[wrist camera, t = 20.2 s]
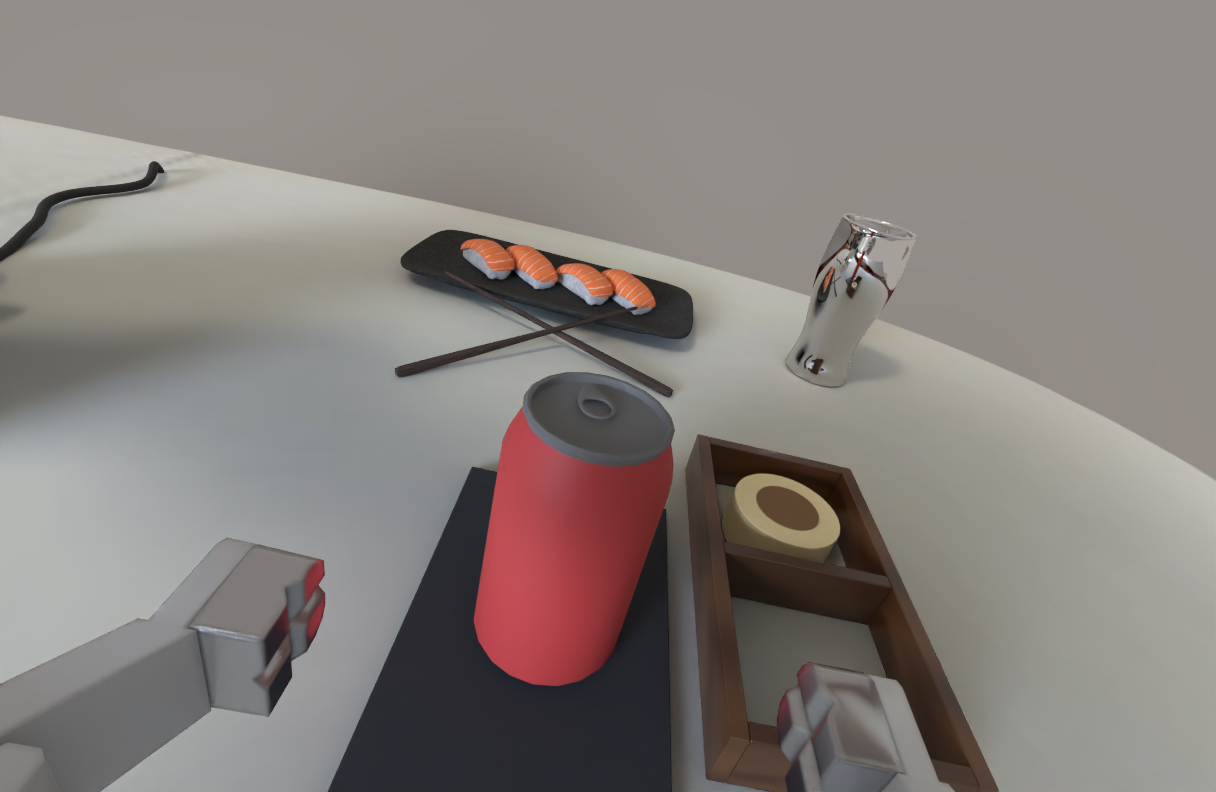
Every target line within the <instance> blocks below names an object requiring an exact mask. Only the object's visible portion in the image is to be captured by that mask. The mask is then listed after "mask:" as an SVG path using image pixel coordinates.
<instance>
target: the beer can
mask: <svg viewBox="0 0 1216 792" xmlns="http://www.w3.org/2000/svg"><path fill="white" fill-rule="evenodd" d="M674 432H675V429H674V426H673V422H672V418H671V416H670V415H669V414H668V412H667V411H666V410H665V409H664V407H663V406H662V405H661V403H660V402H659V401H657V400H656V399H655V398H653V397H652V396H651V395H650V394H648V393H647V392H646V391H644V390H642V389H640V388H638V387H636V386H634V385H632V384H630V383H628V382H625V381H622V380H619V379H616V378H613V377H610V376H606V375H600V374H593V373H587V372H566V373H561V374H556V375H551V376H548V377H546V378H544V379H542V380H540V381H538V382H536V383H534V384H533V385H532V386H531V387H530V388H529V390H528V391H527V392H526V393H525V395H524V402H523V407H522V408H521V409H520V411H519V412H518V413H517V415H516V416H515V418H514V419H513V421H512V422H511V424H510V425H509V427H508V429H507V431H506V434H505V436H504V438H503V441H502V447H501V454H500V460H499V466H498V472H497V478H496V484H495V491H494V497H493V503H492V509H491V515H490V521H489V528H488V534H487V540H486V546H485V552H484V558H483V565H482V571H481V577H480V583H479V589H478V595H477V601H476V608H475V615H474V624H475V629H476V633H477V637H478V641H479V643H480V644H481V646H482V647H483V649H484V650H485V652H486V653H487V655H488V656H489V658H490V659H491V661H492V662H493V663H495V664H496V665H497V666H498V667H500V668H501V669H502V670H504V671H505V672H506V673H507V674H509V675H510V676H512V677H515V678H518V679H520V680H523V681H525V682H528V683H531V684H534V685H547V686H560V685H565V684H569V683H573V682H578V681H581V680H582V679H584V678H586V677H587V676H589V675H590V674H592V673H594V672H595V671H597V670H599V669H600V668H601V667H602V666H603V665H604V663H605V662H606V661H607V659H608V658H609V657H610V656H611V654H612V653H613V651H614V648H615V645H616V642H617V640H618V637H619V634H620V631H621V628H622V625H623V623H624V620H625V617H626V614H627V611H628V608H629V606H630V603H631V600H632V597H633V594H634V591H635V588H636V586H637V583H638V580H639V577H640V574H641V571H642V569H643V566H644V563H645V560H646V557H647V554H648V551H649V549H650V546H651V543H652V540H653V537H654V534H655V532H656V529H657V526H658V523H659V520H660V517H661V514H662V512H663V509H664V506H665V503H666V500H667V497H668V494H669V490H670V487H671V483H672V477H673V455H672V447H671V442H672V438H673V435H674Z"/></svg>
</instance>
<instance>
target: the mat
mask: <svg viewBox="0 0 1216 792" xmlns="http://www.w3.org/2000/svg"><path fill="white" fill-rule="evenodd" d="M496 478H497V472H495V471H490V470H486V469H481V468H477V467H472V468H471V471H470V473H469V475H468V477H467V480H466V482H465V484H464V486H463V489H462V491H461V493H460V495H459V498H458V500H457V502H456V504H455V507H454V509H453V511H452V513H451V516H450V518H449V520H448V522H447V525H446V527H445V529H444V531H443V534H442V536H441V538H440V540H439V543H438V545H437V547H436V549H435V552H434V554H433V556H432V558H431V561H430V563H429V565H428V567H427V570H426V572H425V574H424V576H423V579H422V581H421V583H420V585H419V588H418V590H417V592H416V594H415V597H414V599H413V601H412V603H411V606H410V608H409V610H408V612H407V615H406V617H405V619H404V621H403V624H402V626H401V628H400V630H399V633H398V635H397V637H396V639H395V642H394V644H393V646H392V648H391V651H390V653H389V655H388V657H387V660H386V662H385V664H384V666H383V669H382V671H381V673H380V675H379V678H378V680H377V682H376V684H375V687H374V689H373V691H372V693H371V696H370V698H369V700H368V702H367V705H366V707H365V709H364V711H363V714H362V716H361V718H360V720H359V723H358V725H357V727H356V729H355V732H354V734H353V736H352V738H351V741H350V743H349V745H348V747H347V750H346V752H345V754H344V756H343V759H342V761H341V763H340V765H339V768H338V770H337V772H336V774H335V777H334V779H333V781H332V783H331V786H330V788H329V790H328V792H672V780H671V730H670V680H669V630H668V580H667V529H666V509H663V512H662V514H661V517H660V520H659V523H658V526H657V529H656V532H655V534H654V537H653V540H652V543H651V546H650V549H649V551H648V554H647V557H646V560H645V563H644V566H643V569H642V571H641V574H640V577H639V580H638V583H637V586H636V588H635V591H634V594H633V597H632V600H631V603H630V606H629V608H628V611H627V614H626V617H625V620H624V623H623V625H622V628H621V631H620V634H619V637H618V640H617V642H616V645H615V648H614V651H613V653H612V654H611V656H610V657H609V658H608V659H607V661H606V662H605V663H604V665H603V666H602V667H601V668H600V669H599V670H597V671H595V672H594V673H592V674H590V675H589V676H587V677H586V678H584V679H582V680H581V681H578V682H573V683H569V684H565V685H560V686H547V685H534V684H531V683H528V682H525V681H523V680H520V679H518V678H515V677H512V676H510V675H509V674H507V673H506V672H505V671H504V670H502V669H501V668H500V667H498V666H497V665H496V664H495V663H493V662H492V661H491V659H490V658H489V656H488V655H487V653H486V652H485V650H484V649H483V647H482V646H481V644H480V643H479V641H478V637H477V633H476V629H475V624H474V615H475V608H476V601H477V595H478V589H479V583H480V577H481V571H482V565H483V558H484V552H485V546H486V540H487V534H488V528H489V521H490V515H491V509H492V503H493V497H494V491H495V484H496Z"/></svg>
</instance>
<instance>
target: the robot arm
mask: <svg viewBox="0 0 1216 792" xmlns="http://www.w3.org/2000/svg"><path fill="white" fill-rule="evenodd" d="M157 172H158V173H164V170H163V168H162V167H161V165H160V164H159V163H157V162H155V161H154V162H151V163H150V164H149V169H148V173H147V175H146V177H145V178H144V179H142V180H139V181H136V182H131V183H125V184H118V185H107V186H96V187H86V188H77V189H71V190H66V191H62V192H58V193H55V194H53V195H50V196H48V197H46V198H45V199H44V200H42V201H41V202H40V203H39V205H38V206H37V209H36V211H35V214H34V216H33V218H32V219H31V220H30V221H29V222H28V223H27V224H26V225H25V226H24V227H23V228H21V229H20V230H19V231H18V232H17V233H16V234H15V235H14V236H13V237H12V238H11V239H10V240H9V241H8V242H7V243H6V244H4V245H3V246H2V247H1V248H0V261H1V260H3V259H4V258H6V257H8V256H9V255H11V254H12V253H14V252H15V251H16V250H17V249H19V248H20V247H21V246H22V245H23V244H24V243H25V242H26V241H27V240H28V239H29V238H30V237H31V235H32V234H34V233H35V232H36V231H37V230H38V229H39V228H40V227H41V226H42V225H43V224H44V222H45V220H46V218H47V215H48V212H49V210H50V208H51V207H52V206H54V205H55V204H57V203H60V202H62V201H65V200H68V199H73V198H77V197H83V196H91V195H100V194H111V193H120V192H128V191H134V190H138V189H142V188H145V187H147V186H149V185H150V184H151V183H152V182H153V181H154V180H155V178H156V175H157ZM324 575H325V571H324V560H321V559H317V558H313V557H309V556H305V555H301V554H296V553H292V552H288V551H284V550H280V549H276V548H271V547H267V546H263V545H259V544H254V543H250V542H245V541H241V540H236V539H232V538H226V539H224V540H222V541H221V542H219V543H217V544H216V545H215V546H214V547H213V548H212V549H211V550H210V551H209V553H208V554H207V555H206V556H205V557H204V558H203V559H202V560H201V561H200V563H199V564H198V565H197V566H196V567H195V568H194V569H193V570H192V572H191V573H190V574H189V575H188V576H187V577H186V578H185V579H184V581H183V582H182V583H181V584H180V585H179V586H178V587H177V588H176V590H175V591H174V592H173V593H172V594H171V595H170V596H169V597H168V598H167V600H166V601H165V602H164V603H163V604H162V605H161V606H160V607H159V609H158V610H157V611H156V612H155V613H154V614H153V615H152V616H151V618H150V619H149V620H145V619H139V618H138V619H136V620H134V621H131V622H129V623H127V624H125V625H123V626H121V627H119V628H117V629H115V630H113V631H110V632H108V633H106V634H104V635H102V636H100V637H98V638H96V639H94V640H92V641H90V642H87V643H85V644H83V645H81V646H79V647H77V648H75V649H73V650H71V651H69V652H66V653H64V654H62V655H60V656H58V657H56V658H54V659H52V660H50V661H48V662H46V663H43V664H41V665H39V666H37V667H35V668H33V669H31V670H29V671H27V672H25V673H22V674H20V675H18V676H16V677H14V678H12V679H10V680H8V681H6V682H4V683H2V684H0V792H100V791H102V790H103V789H104V788H106V787H107V786H109V785H110V784H111V783H113V782H114V781H115V780H117V779H118V778H120V777H121V776H122V775H124V774H125V773H126V772H128V771H129V770H131V769H132V768H133V767H135V766H136V765H137V764H139V763H140V762H142V761H143V760H144V759H146V758H147V757H148V756H150V755H151V754H153V753H154V752H155V751H157V750H158V749H159V748H161V747H162V746H163V745H165V744H166V743H168V742H169V741H170V740H172V739H173V738H174V737H176V736H177V735H179V734H180V733H181V732H183V731H184V730H185V729H187V728H188V727H190V726H191V725H192V724H194V723H195V722H196V721H198V720H199V719H201V718H202V717H203V716H205V715H206V714H207V713H209V712H210V711H211V707H213V708H219V709H225V710H231V711H237V712H243V713H249V714H255V715H261V716H267V717H269V715H270V714H271V712H272V710H273V709H274V707H275V705H276V703H277V702H278V700H279V698H280V697H281V695H282V693H283V692H284V690H285V688H286V686H287V685H288V683H289V681H290V680H291V678H292V667H291V661H292V660H294V659H295V658H297V657H299V656H300V655H302V654H304V653H305V652H307V650H308V648H309V647H310V645H311V643H312V641H313V639H314V638H315V636H316V633H317V631H318V628H319V626H320V623H321V620H322V618H323V613H324V607H325V593H324V591H323V590H322V589H321V588H320V587H319V583H320V581H321V580H322V578H323V577H324ZM797 677H798V682H799V685H797V686H795V687H793V688H791V689H788V690H787V691H786V693H785V695H784V696H783V698H782V700H781V702H780V706H779V711H778V717H777V733H778V740H779V746H780V749H781V750H782V752H783V753H784V755H785V756H786V757H787V759H788V760H789V761H790V763H791V766H790V768H789V769H788V771H787V773H786V775H785V780H786V786H787V791H788V792H955V791H954V790H953V789H952V788H951V786H950V785H949V784H947V783H943V782H939V780H938V777H937V775H936V772H935V770H934V767H933V764H932V762H931V759H930V757H929V754H928V752H927V749H926V747H925V744H924V741H923V739H922V736H921V734H920V731H919V729H918V726H917V724H916V721H915V718H914V716H913V713H912V711H911V708H910V706H909V703H908V700H907V698H906V695H905V693H904V690H903V688H902V686H901V685H900V684H899V683H898V682H897V680H893V679H888V678H883V677H879V676H874V675H869V674H864V673H863V672H858V671H853V670H848V669H843V668H837V667H832V666H827V665H822V664H817V663H812V662H808V663H806V664H804V665H803V666H802V667H801V669H800V670H799V672H798V673H797Z"/></svg>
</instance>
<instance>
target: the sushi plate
mask: <svg viewBox="0 0 1216 792" xmlns="http://www.w3.org/2000/svg"><path fill="white" fill-rule="evenodd" d="M401 265H402V267H404V268H405V269H407V270H409V271H411V272H414V273H417V274H420V275H423V276H426V277H430V278H433V279H437V280H440V281H443V282H445V283H448V284H451V285H454V286H457V287H460V288H464V289H468V290H471V291H475V292H479V293H481V294H482V295H484V296H486V297H488V298H490V299H492V300H493V301H495V302H497V303H499V304H501V305H503V306H504V307H506V308H508V309H510V310H512V311H514V312H515V313H517V314H519V315H521V316H523V317H525V318H526V319H528V320H530V321H532V322H534V323H535V324H537V325H539V326H541V327H543V328H545V329H546V330H542V331H538V332H534V333H530V334H526V335H522V336H518V337H514V338H509V339H505V340H501V341H497V342H493V343H489V344H485V345H481V346H477V347H473V348H469V349H465V350H461V351H457V352H453V353H449V354H445V355H441V356H437V357H433V358H429V359H425V360H421V361H418V362H414V363H410V364H406V365H402V366H399V367H397V368H395V374H396V375H397V376H398V377H402V376H406V375H410V374H414V373H417V372H421V371H424V370H428V369H431V368H435V367H438V366H442V365H445V364H449V363H452V362H456V361H459V360H463V359H466V358H470V357H473V356H477V355H480V354H483V353H487V352H490V351H494V350H497V349H500V348H504V347H507V346H510V345H514V344H517V343H520V342H524V341H527V340H531V339H534V338H537V337H541V336H544V335H548V334H551V333H553V334H555V335H557V336H559V337H561V338H562V339H564V340H566V341H568V342H569V343H571V344H573V345H575V346H577V347H578V348H580V349H582V350H584V351H585V352H587V353H589V354H591V355H593V356H594V357H596V358H598V359H600V360H601V361H603V362H605V363H607V364H609V365H610V366H612V367H614V368H616V369H618V370H619V371H621V372H623V373H625V374H627V375H628V376H630V377H632V378H634V379H636V380H638V381H639V382H641V383H643V384H645V385H647V386H649V387H650V388H652V389H654V390H656V391H658V392H660V393H661V394H663V395H665V396H668V397H670V396H671V395H672V392H673V390H672V389H671V388H670V387H668V386H666V385H664V384H662V383H660V382H658V381H657V380H655V379H653V378H651V377H649V376H647V375H645V374H643V373H641V372H639V371H637V370H636V369H634V368H632V367H630V366H628V365H626V364H624V363H622V362H620V361H618V360H616V359H614V358H612V357H611V356H609V355H607V354H605V353H603V352H601V351H599V350H597V349H595V348H593V347H591V346H589V345H587V344H585V343H583V342H581V341H579V340H578V339H576V338H574V337H572V336H570V335H568V334H566V333H564V332H562V330H566V329H569V328H573V327H576V326H580V325H583V324H587V323H590V322H595V323H599V324H603V325H607V326H611V327H615V328H619V329H623V330H627V331H631V332H636V333H642V334H651V335H655V336H660V337H665V338H673V339H682V338H685V337H686V336H688V335H689V333H690V332H691V328H692V323H693V302H692V298H691V296H690V294H689V293H688V292H687V291H685V290H683V289H681V288H679V287H676V286H673V285H670V284H667V283H664V282H660V281H657V280H653V279H649V278H645V277H642V276H638V275H634V274H630V273H628V272H625V271H622V270H617V269H611V268H607V267H603V266H599V265H595V264H591V263H587V262H583V261H580V260H576V259H572V258H568V257H564V256H560V255H556V254H552V253H549V252H545V251H541V250H537V249H534V248H532V247H529V246H524V245H517V244H514V243H510V242H506V241H502V240H498V239H494V238H490V237H486V236H482V235H478V234H473V233H469V232H464V231H457V230H444V231H440V232H437V233H435V234H433V235H431V236H430V237H428V238H426V239H425V240H423V241H422V242H420V243H419V244H417V245H416V246H414V247H413V248H411V249H410V250H408V251H407V252H406V253H405V254H404V255H403V256H402V258H401ZM497 297H498V298H497ZM499 298H502V299H506V300H510V301H514V302H518V303H522V304H525V305H529V306H533V307H537V308H541V309H545V310H549V311H553V312H557V313H560V314H564V315H568V316H572V317H576V318H580V319H584V320H581V321H577V322H573V323H569V324H565V325H561V326H558V327H552V326H550V325H548V324H546V323H545V322H543V321H541V320H539V319H537V318H535V317H533V316H531V315H529V314H527V313H525V312H524V311H522V310H520V309H518V308H516V307H514V306H512V305H510V304H508V303H507V302H505V301H503V300H501V299H499Z"/></svg>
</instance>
